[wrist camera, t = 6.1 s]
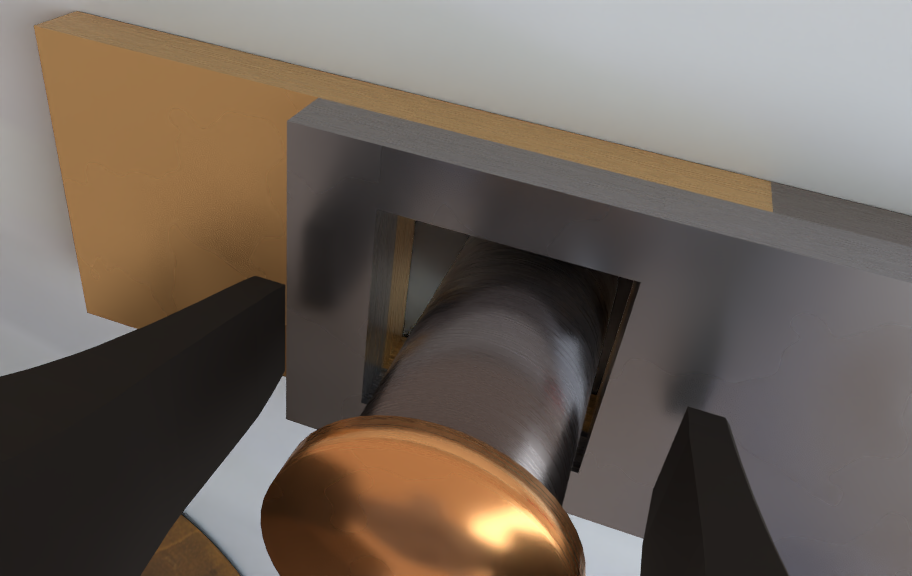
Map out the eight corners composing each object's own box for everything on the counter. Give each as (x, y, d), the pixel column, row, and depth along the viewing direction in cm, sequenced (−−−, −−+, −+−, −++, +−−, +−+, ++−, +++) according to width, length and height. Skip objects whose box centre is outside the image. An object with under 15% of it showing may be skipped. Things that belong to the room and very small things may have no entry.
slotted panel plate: (888, 529, 16) (908, 627, 15) (118, 287, 20) (51, 340, 18) (1084, 259, 12) (1145, 344, 11) (76, 11, 16) (-15, 41, 14)
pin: (617, 376, 17) (544, 718, 10) (433, 326, 17) (267, 615, 11) (668, 206, 14) (612, 520, 8) (452, 155, 15) (253, 407, 9)
